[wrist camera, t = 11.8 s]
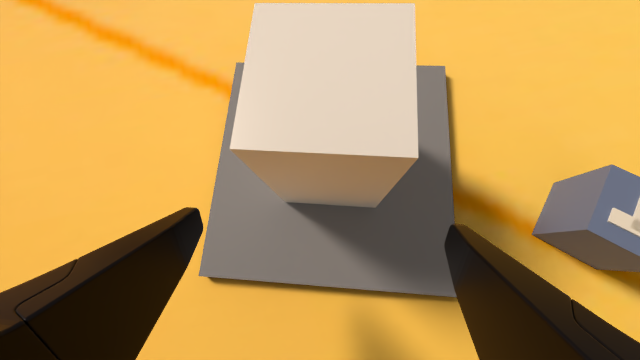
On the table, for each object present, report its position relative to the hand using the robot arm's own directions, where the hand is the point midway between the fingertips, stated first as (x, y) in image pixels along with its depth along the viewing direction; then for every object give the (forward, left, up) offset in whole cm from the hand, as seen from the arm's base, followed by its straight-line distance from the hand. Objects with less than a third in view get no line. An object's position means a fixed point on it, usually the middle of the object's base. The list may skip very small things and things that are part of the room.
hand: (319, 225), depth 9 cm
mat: (+5, 0, -9) cm, 10 cm away
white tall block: (+5, 0, -8) cm, 9 cm away
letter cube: (+1, -16, -9) cm, 18 cm away
